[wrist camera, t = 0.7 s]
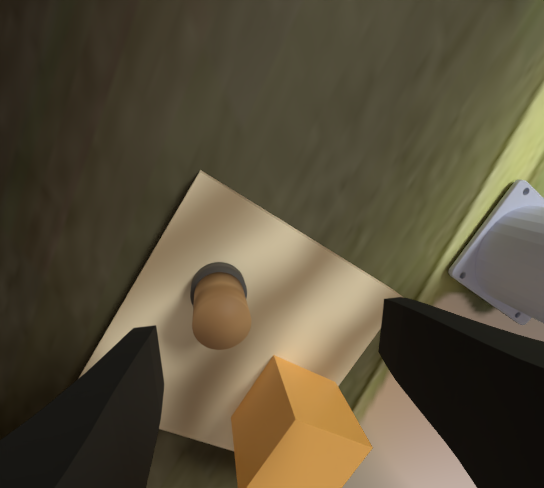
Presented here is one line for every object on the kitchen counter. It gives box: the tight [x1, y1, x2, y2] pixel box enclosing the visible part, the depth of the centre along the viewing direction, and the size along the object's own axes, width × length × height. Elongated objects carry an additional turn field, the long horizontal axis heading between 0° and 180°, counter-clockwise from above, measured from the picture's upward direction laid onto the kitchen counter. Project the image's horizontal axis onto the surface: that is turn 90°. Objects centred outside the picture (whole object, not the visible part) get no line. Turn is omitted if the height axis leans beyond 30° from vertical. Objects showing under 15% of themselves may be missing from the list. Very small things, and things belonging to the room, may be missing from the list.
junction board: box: [78, 170, 402, 451], centre depth 18 cm, size 15×15×6 cm
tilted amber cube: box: [231, 355, 372, 488], centre depth 18 cm, size 5×5×5 cm
